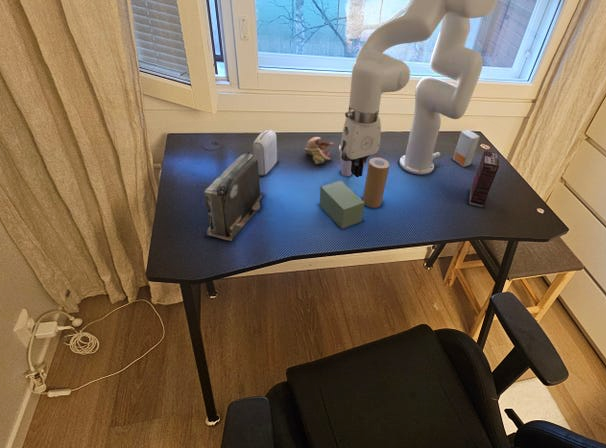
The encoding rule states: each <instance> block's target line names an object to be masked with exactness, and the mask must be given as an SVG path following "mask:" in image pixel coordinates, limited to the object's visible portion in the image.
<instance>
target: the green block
mask: <svg viewBox="0 0 606 448" xmlns="http://www.w3.org/2000/svg"><path fill="white" fill-rule="evenodd" d="M319 190H320V192H319V206H320V208H321V209H322V210H323V211H324V212H325V213H326V214H327V215H328V216H329V217H330V218H331V219H332V220H333V221H334V223H336V225H338V227H339V228H340V229H342V230H343V229H345V228H348V227H351V226H353V225H356V224H359V223H361V222H363V217H364V208H365V204H364V203H365V202H364V201H363V200H362V199H363V198H361V197H360V196H358V195H357V193H355V192H354V191H353V190H352V189H351V188H350V187H349V186H348V185H347V184H345V182H344V181H342V180H341V179H340V180H338V181H334V182H331V183H328V184H324V185H321V186H320V189H319Z"/></svg>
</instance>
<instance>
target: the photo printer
mask: <svg viewBox="0 0 606 448" xmlns="http://www.w3.org/2000/svg"><path fill="white" fill-rule="evenodd" d="M277 145H278V144H277V134H276V131H274V129H265V130H263V131H262V132H261V133H260V134H258V135H257V137H256V138H255V139H254V141H253V144H252V153H253V154H252V155H253V156H255V157H256V158H257V161H258V171H259V176H266V175H267V174H269V172H270V171H271V170H272V169H273V168H274V167H275V165H276V164H277V162H278V147H277Z"/></svg>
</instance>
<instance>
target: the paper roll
mask: <svg viewBox="0 0 606 448" xmlns="http://www.w3.org/2000/svg"><path fill="white" fill-rule="evenodd" d="M389 169H390V162H389V161H388V160H387V159H385V158H382V157H372V158H370V159H369V161H368V166H367V171H366V177H365V183H364V188H363V194H362V198H361V199H362V200H363V201H364V202H365V203H364V206H366V207H368V208H372V209H373V208H374V209H375V208H379V207H381V205H382V203H383V199H384V193H385V188H386V184H387V180H388V179H387V178H388V175H389V174H388V173H389Z"/></svg>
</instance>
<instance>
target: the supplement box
mask: <svg viewBox="0 0 606 448" xmlns="http://www.w3.org/2000/svg"><path fill="white" fill-rule="evenodd" d="M499 162H500V161H499V153H498V152H497V153H496V152H493V151H490V150H489V151H488V150H484V151H483V153H482V156H481V159H480V161H479V164H478V168H477V170H476V173H475V175H474V178H473V181H472V183H471V184H472V185H471V186H470V189H469V202H468V203H469V205H472V206H475V207H480V208H483V207H484V205H485V202H486V200H487V198H488V195H489V193H490V190H491V188H492V185H493V183H494V180H495V177H496V175H497V173H498V171H499V168H500V163H499Z"/></svg>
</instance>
